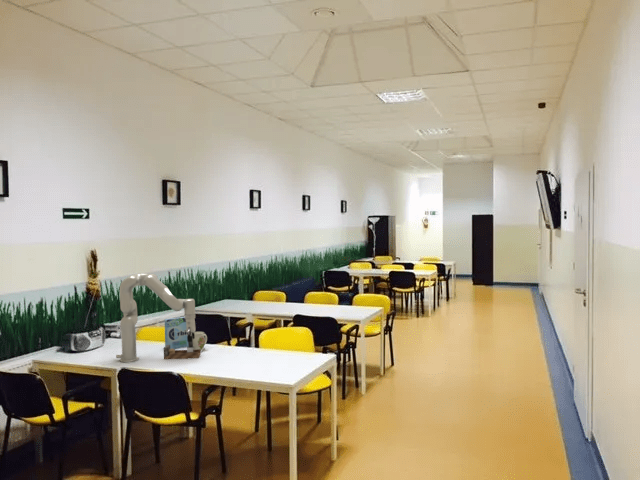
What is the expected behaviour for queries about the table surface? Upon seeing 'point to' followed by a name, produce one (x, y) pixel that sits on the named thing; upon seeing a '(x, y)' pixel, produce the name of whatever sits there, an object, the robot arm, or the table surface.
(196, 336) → the pitcher
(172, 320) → the gum box
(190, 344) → the jaw
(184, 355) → the bench
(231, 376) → the table surface
